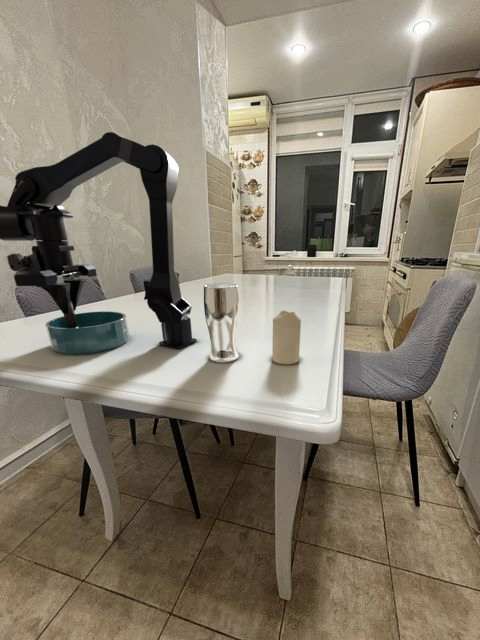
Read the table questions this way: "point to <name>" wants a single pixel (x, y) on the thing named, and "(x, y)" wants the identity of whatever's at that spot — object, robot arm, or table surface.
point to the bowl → (88, 333)
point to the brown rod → (70, 316)
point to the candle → (286, 338)
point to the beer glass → (222, 320)
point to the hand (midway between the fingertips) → (69, 312)
